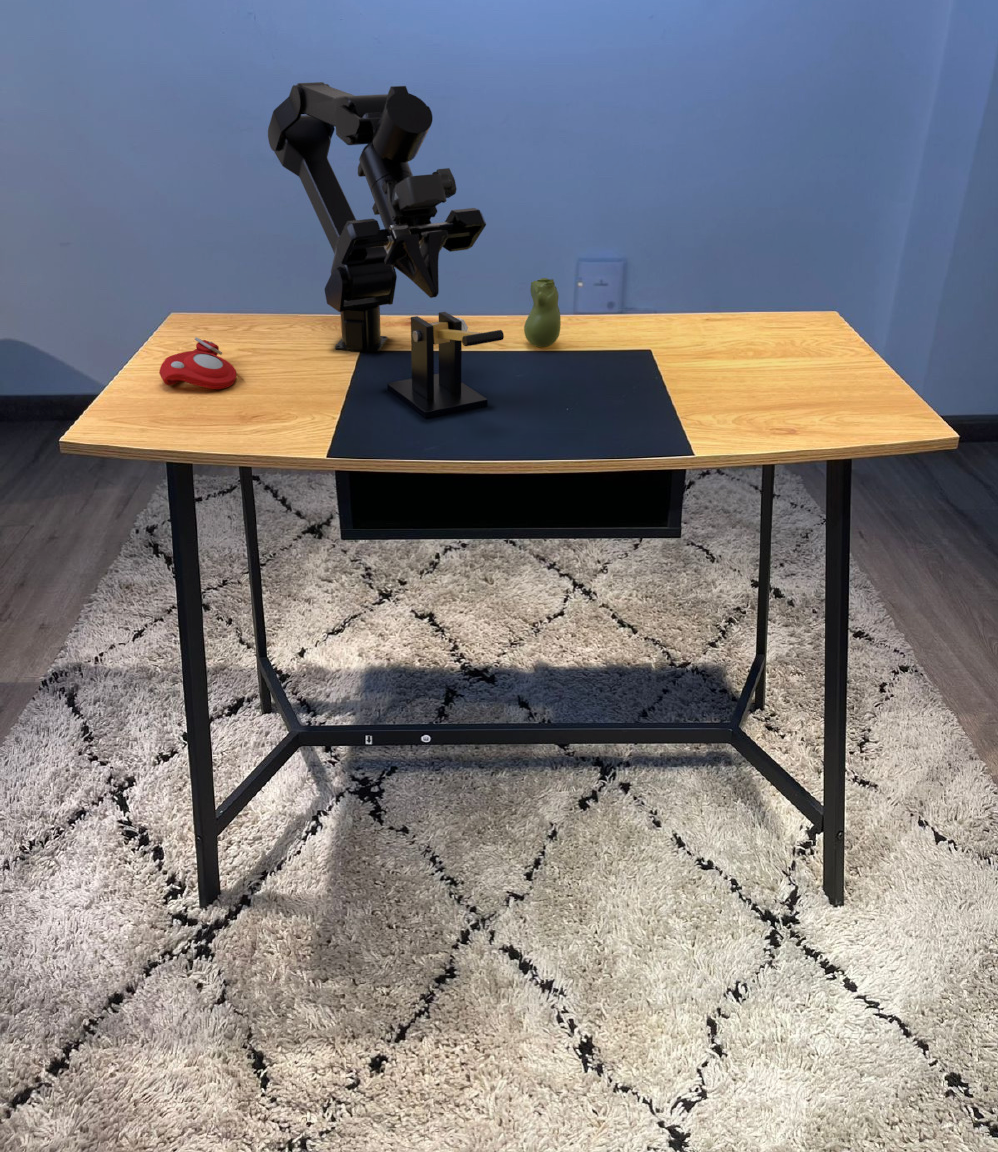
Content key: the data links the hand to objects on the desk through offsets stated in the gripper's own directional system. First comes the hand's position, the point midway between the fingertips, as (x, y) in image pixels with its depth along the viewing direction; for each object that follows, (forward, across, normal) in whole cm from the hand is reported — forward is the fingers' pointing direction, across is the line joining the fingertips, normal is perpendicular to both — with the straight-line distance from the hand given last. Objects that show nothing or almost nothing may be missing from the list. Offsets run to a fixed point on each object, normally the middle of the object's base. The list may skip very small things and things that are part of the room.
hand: (434, 295), depth 127 cm
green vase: (+2, +24, +18) cm, 30 cm away
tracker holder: (-5, -24, +25) cm, 35 cm away
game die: (-4, +14, +23) cm, 27 cm away
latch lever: (+7, 0, -1) cm, 8 cm away
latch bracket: (+10, 0, +10) cm, 14 cm away
